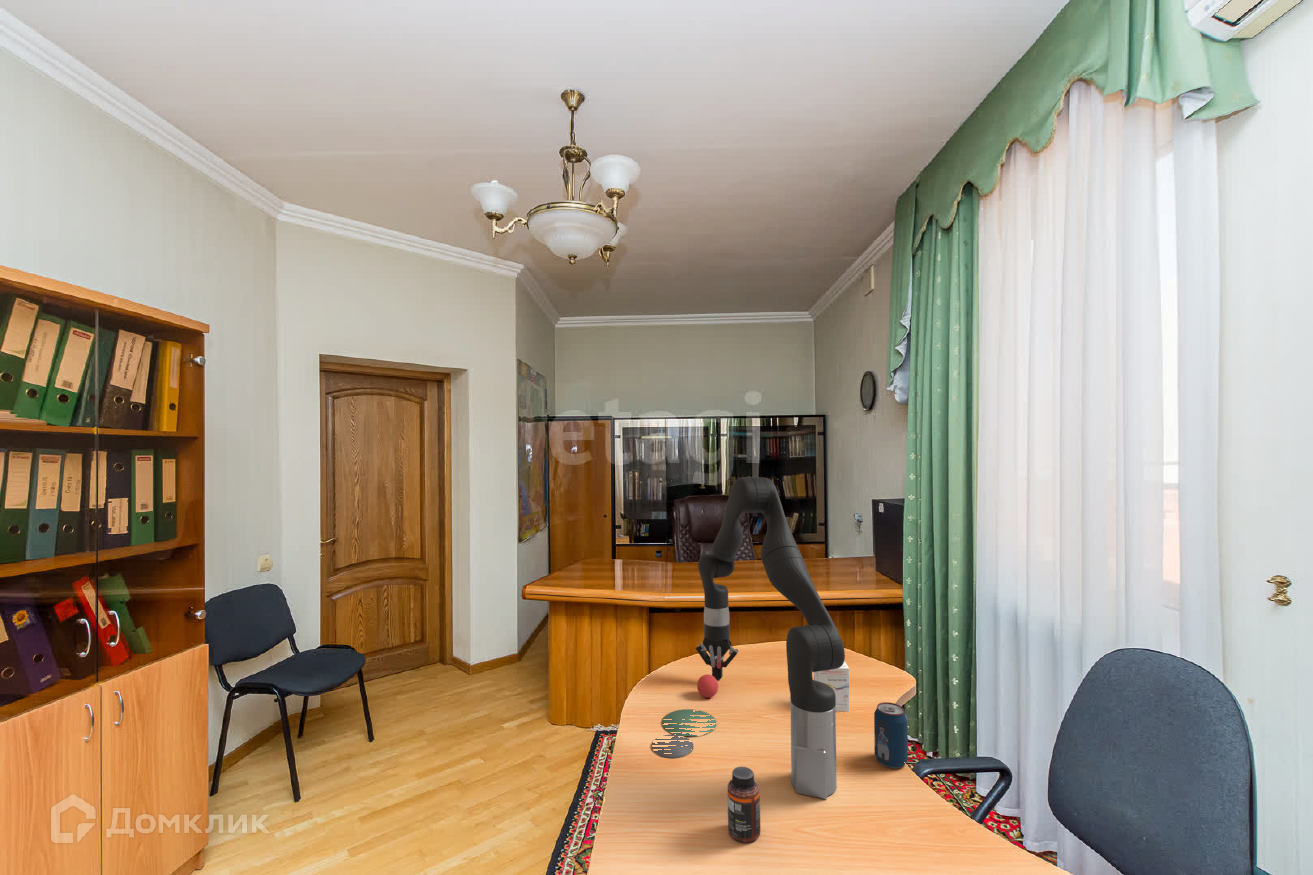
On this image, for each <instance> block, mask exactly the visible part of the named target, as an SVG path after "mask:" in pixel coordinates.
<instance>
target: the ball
mask: <svg viewBox="0 0 1313 875" xmlns="http://www.w3.org/2000/svg"><path fill="white" fill-rule="evenodd" d="M718 682H719V681H717V680H716V678H715V677H713V676H712V674H703V675H701V676H700V677H699V678H698V680H697V683H696V687H697V691H698V693H699V695H700V696H702V697H704V698H707V699H709V698H713V697H715V695H717V693H718V691H719V683H718Z"/></svg>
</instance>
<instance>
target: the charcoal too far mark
mask: <svg viewBox="0 0 1313 875" xmlns="http://www.w3.org/2000/svg"><path fill="white" fill-rule="evenodd" d="M663 736H674V737H672V738H671V739H657V738H655V739H654V740H677V741H671V742H669V743H665V742H657V743H658V744H655V743H653V741H652V742H651V745H676V746H668V747H652V748H651V750H652V749H662V750H658V751H654V752H655V753H657V754H658V755H657V754H656V755H657V756H659V755H660V756H659V757H662V758H665V757H666V759H667V758H668V759H679V758H683V757H686V756H688V755H690V754H691V753H692V752H693V750H694V748H693V747H694V746H693V745H694V743H693V742H689V741H684V742H680V741H678V740H691V739H689V737H686V738H683V737H680V738H679V737H678V736H680V735H674V734H666V735H663ZM685 745H688V746H685ZM681 746H683V747H681ZM664 749H671V750H664ZM691 749H692V750H691ZM654 752H653V753H654ZM655 753H654V754H655ZM664 753H672V754H664ZM689 753H690V754H689ZM687 754H688V755H687ZM685 755H686V756H685Z"/></svg>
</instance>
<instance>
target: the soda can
mask: <svg viewBox="0 0 1313 875" xmlns="http://www.w3.org/2000/svg"><path fill="white" fill-rule="evenodd" d="M873 719H874V720H873V723H874V724H873V725H874V726H873V727H874V730H873V731H874V734H873V735H874V736H873V737H874V741H873V742H874V755H875V758H876V760H878V762H879V764H881V765H882V766H883V767H886V768H890V769H901V768H903V767H905V765H906V764H905V763H907V762H908V760H909V758H908V757H909V755H908V754H909V752H908V751H909V750H908V749H909V748H908V747H909V746H908V745H909V744H908V738H909V734H908V716H907V714H906V713H905V709H904V707H903V706H901V705H899V704H897V703H894V702H886V701H885V702H879V703H878V704H877V706H876V709H875V711H874V713H873ZM904 762H905V763H904Z"/></svg>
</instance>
